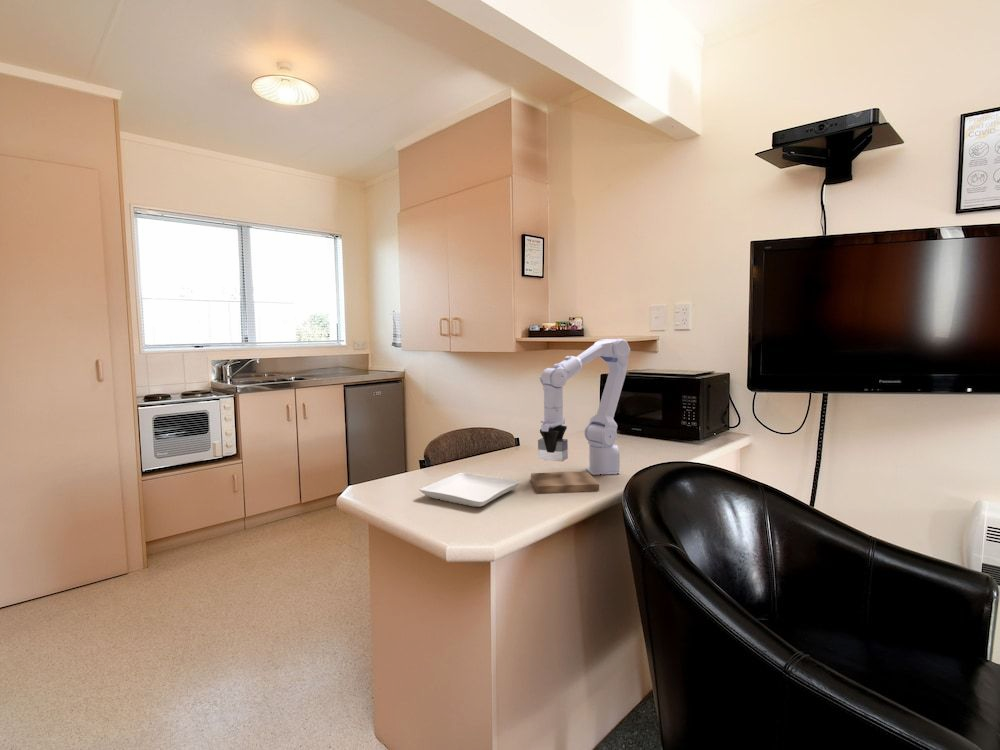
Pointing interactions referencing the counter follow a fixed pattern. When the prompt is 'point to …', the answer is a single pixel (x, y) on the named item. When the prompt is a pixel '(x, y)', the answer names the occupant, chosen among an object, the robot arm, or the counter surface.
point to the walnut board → (564, 482)
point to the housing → (558, 454)
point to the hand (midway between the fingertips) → (553, 450)
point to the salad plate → (469, 489)
